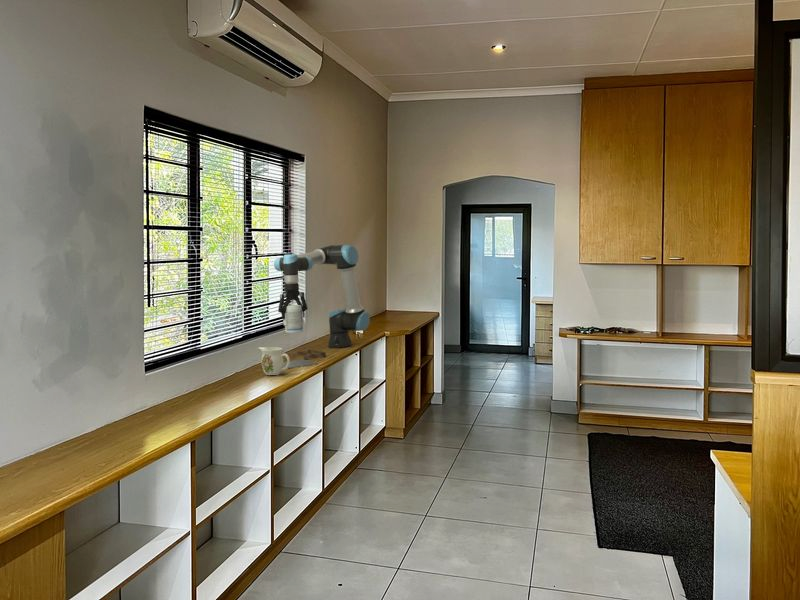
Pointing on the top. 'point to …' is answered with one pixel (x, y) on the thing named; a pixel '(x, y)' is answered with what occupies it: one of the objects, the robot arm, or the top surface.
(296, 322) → the supplement tub
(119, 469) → the top surface
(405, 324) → the top surface
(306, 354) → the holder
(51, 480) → the top surface
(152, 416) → the top surface
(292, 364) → the pad
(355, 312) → the robot arm
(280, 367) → the pitcher
